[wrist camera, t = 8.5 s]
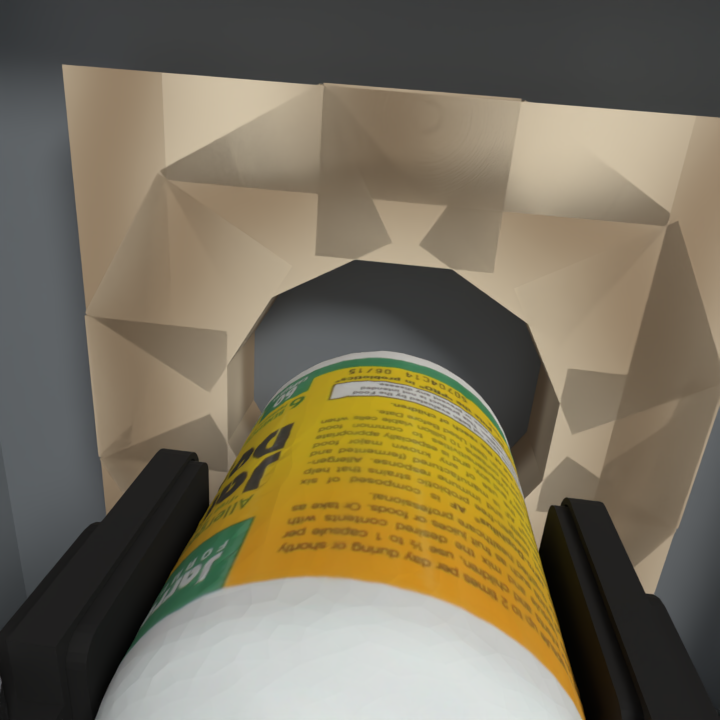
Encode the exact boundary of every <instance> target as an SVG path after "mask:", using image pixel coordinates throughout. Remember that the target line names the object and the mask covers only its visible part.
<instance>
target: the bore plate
mask: <svg viewBox="0 0 720 720" xmlns="http://www.w3.org/2000/svg"><path fill="white" fill-rule="evenodd" d="M62 69H63V80H64V90H65V100H66V110H67V120H68V130H69V141H70V151H71V161H72V171H73V181H74V191H75V202H76V212H77V222H78V232H79V242H80V253H81V263H82V273H83V283H84V293H85V303H86V312H85V313H86V314H87V315H85V325H86V335H87V345H88V355H89V365H90V375H91V385H92V395H93V405H94V415H95V425H96V435H97V445H98V455H99V457H101V458H100V460H101V466H102V476H103V487H104V497H105V507H106V515H107V514H108V513H109V511H110V510H111V509H112V508H113V506H114V505H115V504H116V503H117V501H118V500H119V499H120V498H121V496H122V495H123V494H124V493H125V491H126V490H127V489H128V488H129V486H130V485H131V484H132V483H133V481H134V480H135V479H136V478H137V476H138V475H139V474H140V473H141V471H142V470H143V469H144V468H145V467H146V465H147V464H148V463H149V462H150V460H151V459H152V458H153V457H154V455H155V454H156V453H157V452H158V451H159V450H160V449H162V448H165V449H173V450H182V451H190V452H195V453H196V454H197V455H198V458H199V462H206V463H207V464H208V469H209V506H210V504H211V503H212V501H213V499H214V498H215V496H216V494H217V493H218V490H219V487H220V486H221V484H222V483H223V481H224V479H225V477H226V475H227V474H228V472H229V470H230V468H231V466H232V465H233V463H234V461H235V459H236V458H237V456H238V454H239V452H240V450H241V449H242V447H243V445H244V443H245V441H246V439H247V438H248V436H249V434H250V432H251V430H252V428H253V426H254V425H255V423H256V422H257V420H258V419H259V417H260V415H261V411H260V410H259V408H258V406H257V404H256V403H255V401H254V349H255V330H256V329H257V327H258V326H259V324H260V323H261V321H262V320H263V318H264V317H265V315H266V314H267V312H268V311H269V309H270V308H271V306H272V305H273V303H274V302H275V300H276V299H277V297H278V295H279V294H280V293H283V292H285V291H287V290H289V289H291V288H294V287H296V286H298V285H300V284H302V283H305V282H307V281H309V280H311V279H313V278H316V277H318V276H320V275H322V274H324V273H327V272H329V271H331V270H333V269H335V268H338V267H340V266H342V265H344V264H346V263H349V262H351V261H353V260H365V261H375V262H385V263H395V264H405V265H415V266H425V267H435V268H445V269H452V270H454V271H455V272H457V273H458V274H459V275H461V276H462V277H463V278H465V279H466V280H468V281H469V282H470V283H472V284H473V285H475V286H476V287H477V288H479V289H480V290H482V291H483V292H484V293H486V294H487V295H488V296H490V297H491V298H493V299H494V300H495V301H497V302H498V303H500V304H501V305H502V306H504V307H505V308H507V309H508V310H509V311H511V312H512V313H513V314H515V315H516V316H518V317H519V318H520V319H522V320H523V321H525V324H526V326H527V329H528V331H529V334H530V336H531V339H532V341H533V344H534V346H535V349H536V351H537V354H538V356H539V359H540V361H541V366H540V371H539V375H538V380H537V385H536V390H535V395H534V400H533V405H532V409H531V414H530V419H529V424H528V429H527V432H526V433H525V434H524V435H523V436H522V437H521V438H520V439H519V441H518V442H517V443H516V444H515V445H514V446H513V447H512V448H511V449H510V451H511V454H512V457H513V460H514V464H515V467H516V471H517V475H518V479H519V483H520V486H521V489H522V493H523V496H524V500H525V504H526V508H527V512H528V516H529V520H530V523H531V527H532V530H533V534H534V538H535V541H536V545H537V548H538V552H539V547H540V543H541V539H542V535H543V530H544V526H545V522H546V517H547V513H548V510H549V508H550V506H551V505H558V506H560V505H561V502H562V501H563V499H564V498H566V497H568V498H576V499H584V500H592V501H600V502H603V503H604V505H605V506H606V509H607V511H608V513H609V515H610V517H611V519H612V522H613V524H614V526H615V528H616V530H617V532H618V535H619V537H620V539H621V541H622V543H623V545H624V548H625V550H626V552H627V554H628V556H629V559H630V561H631V563H632V565H633V567H634V569H635V572H636V574H637V576H638V578H639V580H640V582H641V585H642V587H643V589H644V591H645V593H647V594H654V592H655V590H656V587H657V584H658V581H659V578H660V575H661V572H662V569H663V566H664V563H665V560H666V557H667V554H668V551H669V548H670V545H671V542H672V539H673V536H674V533H675V532H676V529H678V528H679V525H680V522H681V519H682V516H683V513H684V510H685V507H686V504H687V501H688V498H689V495H690V492H691V489H692V486H693V483H694V480H695V477H696V474H697V471H698V468H699V465H700V462H701V459H702V456H703V453H704V450H705V447H706V444H707V441H708V439H709V436H710V433H711V430H712V427H713V424H714V421H715V418H716V415H717V412H718V409H719V406H720V118H718V117H705V116H693V115H681V114H668V113H656V112H643V111H631V110H619V109H606V108H594V107H582V106H569V105H557V104H545V103H532V102H527V101H526V100H523V101H521V99H519V98H507V97H495V96H482V95H470V94H457V93H445V92H433V91H420V90H408V89H395V88H383V87H370V86H358V85H346V84H333V83H324V85H323V84H318V85H310V84H297V83H285V82H272V81H260V80H248V79H235V78H223V77H211V76H198V75H186V74H174V73H161V72H149V71H136V70H124V69H112V68H99V67H87V66H75V65H62Z"/></svg>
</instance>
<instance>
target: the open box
mask: <svg viewBox="0 0 720 720" xmlns="http://www.w3.org/2000/svg"><path fill="white" fill-rule="evenodd" d="M62 65H75V66H87V67H99V68H112V69H124V70H136V71H149V72H161V73H174V74H186V75H198V76H211V77H223V78H235V79H248V80H260V81H272V82H285V83H297V84H310V85H318V84H323V85H324V83H333V84H346V85H358V86H370V87H383V88H395V89H408V90H420V91H433V92H445V93H457V94H470V95H482V96H495V97H507V98H519V99H521V101H523V100H526V101H527V102H532V103H545V104H557V105H569V106H582V107H594V108H606V109H619V110H631V111H643V112H656V113H668V114H681V115H693V116H705V117H718V118H720V0H0V631H1V630H2V628H3V627H4V626H5V625H6V624H7V622H8V621H9V620H10V619H11V618H12V616H13V615H14V614H15V613H16V611H17V610H18V609H19V608H20V607H21V605H22V604H23V603H24V602H25V601H26V599H27V598H28V597H29V596H30V595H31V593H32V592H33V591H34V590H35V589H36V587H37V586H38V585H39V584H40V582H41V581H42V580H43V579H44V578H45V576H46V575H47V574H48V573H49V572H50V570H51V569H52V568H53V567H54V566H55V564H56V563H57V562H58V561H59V560H60V558H61V557H62V556H63V555H64V553H65V552H66V551H67V550H68V549H69V547H70V546H71V545H72V544H73V543H74V541H75V540H76V539H77V538H78V537H79V535H80V534H81V533H82V532H83V531H84V530H85V529H86V528H87V527H88V526H89V525H90V524H92V523H94V522H101V521H102V520H103V519H104V518H105V516H106V507H105V497H104V487H103V476H102V466H101V460H100V458H101V457H99V455H98V445H97V435H96V425H95V415H94V405H93V395H92V385H91V375H90V365H89V355H88V345H87V335H86V325H85V315H87V314H86V313H85V312H86V303H85V293H84V283H83V273H82V263H81V253H80V242H79V232H78V222H77V212H76V202H75V191H74V181H73V171H72V161H71V151H70V141H69V130H68V120H67V110H66V100H65V90H64V80H63V69H62ZM375 351H390V352H397V353H403V354H407V355H411V356H414V357H418V358H421V359H424V360H428V361H430V362H432V363H435V364H437V365H439V366H441V367H443V368H445V369H447V370H448V371H450V372H452V373H453V374H455V375H456V376H458V377H459V378H461V379H462V380H464V381H465V382H466V383H467V384H468V385H469V386H471V387H472V388H473V389H474V390H475V391H476V392H477V393H478V394H479V395H480V396H481V397H482V398H483V400H484V401H485V402H486V403H487V404H488V406H489V407H490V409H491V410H492V412H493V413H494V415H495V416H496V418H497V420H498V422H499V424H500V425H501V427H502V429H503V431H504V434H505V436H506V439H507V442H508V445H509V448H510V449H511V448H512V447H513V446H514V445H515V444H516V443H517V442H518V441H519V439H520V438H521V437H522V436H523V435H524V434H525V433H526V432H527V429H528V424H529V419H530V414H531V409H532V405H533V400H534V395H535V390H536V385H537V380H538V375H539V371H540V366H541V361H540V359H539V356H538V354H537V351H536V349H535V346H534V344H533V341H532V339H531V336H530V334H529V331H528V329H527V326H526V324H525V321H523V320H522V319H520V318H519V317H518V316H516V315H515V314H513V313H512V312H511V311H509V310H508V309H507V308H505V307H504V306H502V305H501V304H500V303H498V302H497V301H495V300H494V299H493V298H491V297H490V296H488V295H487V294H486V293H484V292H483V291H482V290H480V289H479V288H477V287H476V286H475V285H473V284H472V283H470V282H469V281H468V280H466V279H465V278H463V277H462V276H461V275H459V274H458V273H457V272H455V271H454V270H452V269H445V268H435V267H425V266H415V265H405V264H395V263H385V262H375V261H365V260H353V261H351V262H349V263H346V264H344V265H342V266H340V267H338V268H335V269H333V270H331V271H329V272H327V273H324V274H322V275H320V276H318V277H316V278H313V279H311V280H309V281H307V282H305V283H302V284H300V285H298V286H296V287H294V288H291V289H289V290H287V291H285V292H283V293H280V294H279V295H278V297H277V299H276V300H275V302H274V303H273V305H272V306H271V308H270V309H269V311H268V312H267V314H266V315H265V317H264V318H263V320H262V321H261V323H260V324H259V326H258V327H257V329H256V330H255V349H254V401H255V403H256V404H257V406H258V408H259V410H260V411H261V413H262V412H263V410H264V408H265V407H266V405H267V404H268V402H269V401H270V400H271V399H272V397H273V396H274V395H275V394H276V393H277V391H278V390H279V389H280V388H281V387H282V386H283V385H285V384H286V383H287V382H288V381H290V380H291V379H293V378H294V377H296V376H297V375H299V374H300V373H302V372H303V371H305V370H307V369H309V368H311V367H313V366H315V365H317V364H319V363H321V362H324V361H327V360H330V359H333V358H336V357H340V356H344V355H347V354H351V353H361V352H375ZM654 595H656V596H657V597H658V598H660V599H661V601H662V602H663V604H664V606H665V607H666V609H667V611H668V613H669V615H670V617H671V619H672V621H673V623H674V626H675V628H676V630H677V632H678V634H679V636H680V638H681V640H682V642H683V644H684V646H685V648H686V650H687V652H688V654H689V656H690V658H691V660H692V662H693V664H694V666H695V668H696V671H697V673H698V675H699V677H700V679H701V681H702V683H703V685H704V687H705V689H706V691H707V693H708V695H709V697H710V699H711V701H712V703H713V705H714V707H715V709H716V711H717V714H718V716H719V718H720V406H719V409H718V412H717V415H716V418H715V421H714V424H713V427H712V430H711V433H710V436H709V439H708V441H707V444H706V447H705V450H704V453H703V456H702V459H701V462H700V465H699V468H698V471H697V474H696V477H695V480H694V483H693V486H692V489H691V492H690V495H689V498H688V501H687V504H686V507H685V510H684V513H683V516H682V519H681V522H680V525H679V528H678V529H676V532H675V533H674V536H673V539H672V542H671V545H670V548H669V551H668V554H667V557H666V560H665V563H664V566H663V569H662V572H661V575H660V578H659V581H658V584H657V587H656V590H655V592H654Z"/></svg>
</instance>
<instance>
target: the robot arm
mask: <svg viewBox="0 0 720 720" xmlns="http://www.w3.org/2000/svg"><path fill="white" fill-rule="evenodd" d="M208 508H209V469H208V464H207V463H206V462H199V458H198V455H197V454H196V453H195V452H190V451H182V450H173V449H165V448H162V449H160V450H159V451H158V452H157V453H156V454H155V455H154V457H153V458H152V459H151V460H150V462H149V463H148V464H147V465H146V467H145V468H144V469H143V470H142V471H141V473H140V474H139V475H138V476H137V478H136V479H135V480H134V481H133V483H132V484H131V485H130V486H129V488H128V489H127V490H126V491H125V493H124V494H123V495H122V496H121V498H120V499H119V500H118V501H117V503H116V504H115V505H114V506H113V508H112V509H111V510H110V511H109V513H108V514H107V515H106V516H105V518H104V519H103V520H102V521H101V522H94V523H92V524H90V525H89V526H88V527H87V528H86V529H85V530H84V531H83V532H82V533H81V534H80V535H79V537H78V538H77V539H76V540H75V541H74V543H73V544H72V545H71V546H70V547H69V549H68V550H67V551H66V552H65V553H64V555H63V556H62V557H61V558H60V560H59V561H58V562H57V563H56V564H55V566H54V567H53V568H52V569H51V570H50V572H49V573H48V574H47V575H46V576H45V578H44V579H43V580H42V581H41V582H40V584H39V585H38V586H37V587H36V589H35V590H34V591H33V592H32V593H31V595H30V596H29V597H28V598H27V599H26V601H25V602H24V603H23V604H22V605H21V607H20V608H19V609H18V610H17V611H16V613H15V614H14V615H13V616H12V618H11V619H10V620H9V621H8V622H7V624H6V625H5V626H4V627H3V628H2V630H1V631H0V720H95V718H96V715H97V713H98V710H99V707H100V705H101V702H102V700H103V697H104V695H105V693H106V691H107V688H108V686H109V684H110V682H111V680H112V678H113V676H114V674H115V672H116V671H117V669H118V667H119V665H120V663H121V661H122V659H123V658H124V656H125V654H126V653H127V651H128V649H129V648H130V646H131V644H132V643H133V641H134V639H135V637H136V635H137V633H138V631H139V629H140V627H141V625H142V623H143V622H144V620H145V618H146V617H147V615H148V613H149V611H150V609H151V607H152V606H153V604H154V602H155V600H156V599H157V597H158V595H159V593H160V592H161V590H162V588H163V587H164V585H165V583H166V581H167V579H168V577H169V575H170V573H171V571H172V570H173V568H174V566H175V565H176V563H177V561H178V559H179V558H180V556H181V554H182V552H183V550H184V549H185V547H186V546H187V544H188V542H189V541H190V539H191V538H192V536H193V534H194V533H195V531H196V529H197V527H198V525H199V522H200V521H201V519H202V518H203V516H204V514H205V513H206V511H207V509H208ZM539 556H540V559H541V563H542V567H543V571H544V574H545V578H546V581H547V584H548V588H549V592H550V596H551V599H552V602H553V605H554V608H555V612H556V615H557V619H558V622H559V626H560V630H561V634H562V638H563V640H564V644H565V648H566V652H567V655H568V658H569V662H570V665H571V669H572V672H573V675H574V678H575V681H576V684H577V687H578V690H579V694H580V699H581V702H582V705H583V709H584V714H585V719H586V720H720V718H719V716H718V714H717V711H716V709H715V707H714V705H713V703H712V701H711V699H710V697H709V695H708V693H707V691H706V689H705V687H704V685H703V683H702V681H701V679H700V677H699V675H698V673H697V671H696V668H695V666H694V664H693V662H692V660H691V658H690V656H689V654H688V652H687V650H686V648H685V646H684V644H683V642H682V640H681V638H680V636H679V634H678V632H677V630H676V628H675V626H674V623H673V621H672V619H671V617H670V615H669V613H668V611H667V609H666V607H665V606H664V604H663V602H662V601H661V599H660V598H658V597H657V596H656V595H654V594H647V593H645V591H644V589H643V587H642V585H641V582H640V580H639V578H638V576H637V574H636V572H635V569H634V567H633V565H632V563H631V561H630V559H629V556H628V554H627V552H626V550H625V548H624V545H623V543H622V541H621V539H620V537H619V535H618V532H617V530H616V528H615V526H614V524H613V522H612V519H611V517H610V515H609V513H608V511H607V509H606V506H605V505H604V503H603V502H600V501H592V500H584V499H576V498H568V497H566V498H564V499H563V501H562V502H561V505H560V506H558V505H551V506H550V508H549V510H548V513H547V517H546V522H545V526H544V530H543V535H542V539H541V543H540V547H539Z"/></svg>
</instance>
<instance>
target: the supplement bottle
mask: <svg viewBox="0 0 720 720" xmlns="http://www.w3.org/2000/svg"><path fill="white" fill-rule="evenodd" d="M95 720H586V719H585V714H584V709H583V705H582V702H581V699H580V694H579V690H578V687H577V684H576V681H575V678H574V675H573V672H572V669H571V665H570V662H569V658H568V655H567V652H566V648H565V644H564V640H563V638H562V634H561V630H560V626H559V622H558V619H557V615H556V612H555V608H554V605H553V602H552V599H551V596H550V592H549V588H548V584H547V581H546V578H545V574H544V571H543V567H542V563H541V559H540V556H539V552H538V548H537V545H536V541H535V538H534V534H533V530H532V527H531V523H530V520H529V516H528V512H527V508H526V504H525V500H524V496H523V493H522V489H521V486H520V483H519V479H518V475H517V471H516V467H515V464H514V460H513V457H512V454H511V451H510V448H509V445H508V442H507V439H506V436H505V434H504V431H503V429H502V427H501V425H500V424H499V422H498V420H497V418H496V416H495V415H494V413H493V412H492V410H491V409H490V407H489V406H488V404H487V403H486V402H485V401H484V400H483V398H482V397H481V396H480V395H479V394H478V393H477V392H476V391H475V390H474V389H473V388H472V387H471V386H469V385H468V384H467V383H466V382H465V381H464V380H462V379H461V378H459V377H458V376H456V375H455V374H453V373H452V372H450V371H448V370H447V369H445V368H443V367H441V366H439V365H437V364H435V363H432V362H430V361H428V360H424V359H421V358H418V357H414V356H411V355H407V354H403V353H397V352H390V351H375V352H361V353H351V354H347V355H344V356H340V357H336V358H333V359H330V360H327V361H324V362H321V363H319V364H317V365H315V366H313V367H311V368H309V369H307V370H305V371H303V372H302V373H300V374H299V375H297V376H296V377H294V378H293V379H291V380H290V381H288V382H287V383H286V384H285V385H283V386H282V387H281V388H280V389H279V390H278V391H277V393H276V394H275V395H274V396H273V397H272V399H271V400H270V401H269V402H268V404H267V405H266V407H265V408H264V410H263V412H262V413H261V415H260V417H259V419H258V420H257V422H256V423H255V425H254V426H253V428H252V430H251V432H250V434H249V436H248V438H247V439H246V441H245V443H244V445H243V447H242V449H241V450H240V452H239V454H238V456H237V458H236V459H235V461H234V463H233V465H232V466H231V468H230V470H229V472H228V474H227V475H226V477H225V479H224V481H223V483H222V484H221V486H220V487H219V490H218V493H217V494H216V496H215V498H214V499H213V501H212V503H211V504H210V506H209V508H208V509H207V511H206V513H205V514H204V516H203V518H202V519H201V521H200V522H199V525H198V527H197V529H196V531H195V533H194V534H193V536H192V538H191V539H190V541H189V542H188V544H187V546H186V547H185V549H184V550H183V552H182V554H181V556H180V558H179V559H178V561H177V563H176V565H175V566H174V568H173V570H172V571H171V573H170V575H169V577H168V579H167V581H166V583H165V585H164V587H163V588H162V590H161V592H160V593H159V595H158V597H157V599H156V600H155V602H154V604H153V606H152V607H151V609H150V611H149V613H148V615H147V617H146V618H145V620H144V622H143V623H142V625H141V627H140V629H139V631H138V633H137V635H136V637H135V639H134V641H133V643H132V644H131V646H130V648H129V649H128V651H127V653H126V654H125V656H124V658H123V659H122V661H121V663H120V665H119V667H118V669H117V671H116V672H115V674H114V676H113V678H112V680H111V682H110V684H109V686H108V688H107V691H106V693H105V695H104V697H103V700H102V702H101V705H100V707H99V710H98V713H97V715H96V718H95Z"/></svg>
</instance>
